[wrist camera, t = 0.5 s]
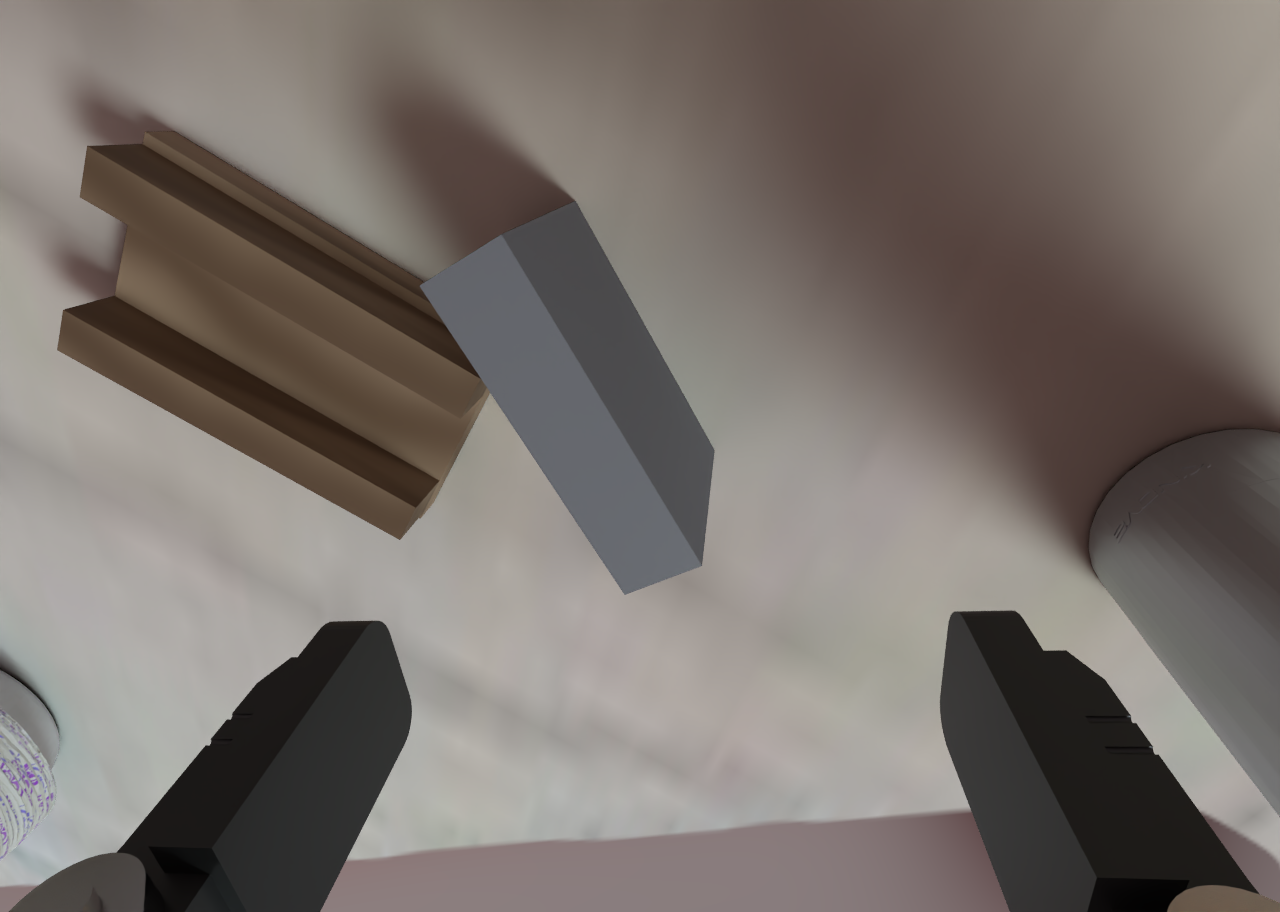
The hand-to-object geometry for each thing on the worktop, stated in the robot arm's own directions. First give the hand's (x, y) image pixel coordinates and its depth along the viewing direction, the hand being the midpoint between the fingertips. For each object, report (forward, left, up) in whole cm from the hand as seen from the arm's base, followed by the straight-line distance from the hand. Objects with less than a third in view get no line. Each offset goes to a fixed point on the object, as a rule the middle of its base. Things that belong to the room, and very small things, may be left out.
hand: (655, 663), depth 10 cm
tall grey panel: (+3, +4, -20) cm, 21 cm away
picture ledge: (+15, +11, -20) cm, 27 cm away
